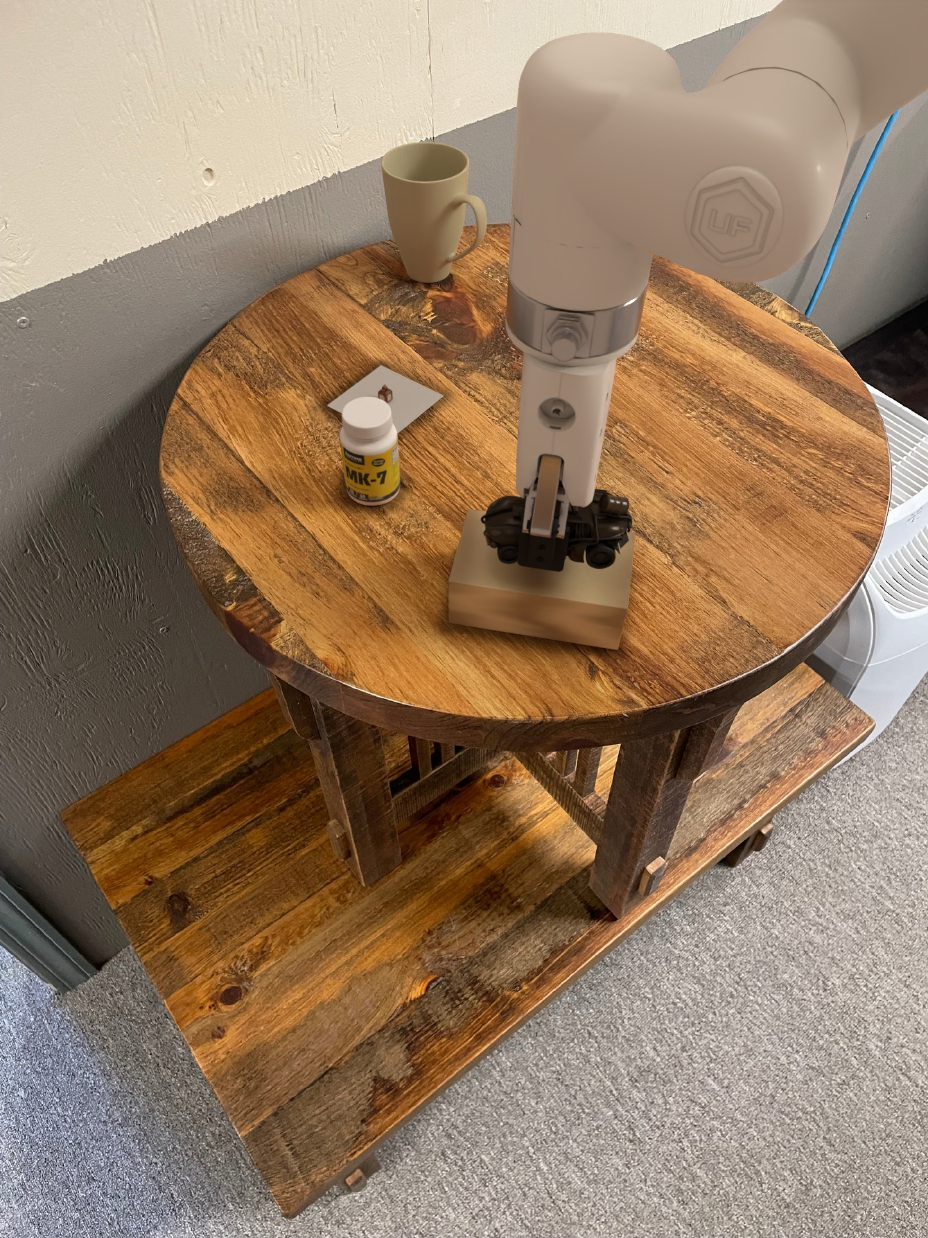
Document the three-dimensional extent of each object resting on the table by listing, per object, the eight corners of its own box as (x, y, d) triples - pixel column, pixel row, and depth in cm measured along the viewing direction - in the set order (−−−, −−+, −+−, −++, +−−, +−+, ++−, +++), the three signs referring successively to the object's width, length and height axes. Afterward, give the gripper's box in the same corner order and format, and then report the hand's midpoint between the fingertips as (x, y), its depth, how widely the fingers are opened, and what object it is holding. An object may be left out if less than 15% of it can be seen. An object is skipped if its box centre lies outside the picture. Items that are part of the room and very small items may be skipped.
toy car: (634, 569, 61) (645, 526, 57) (463, 572, 60) (464, 528, 57) (622, 507, 64) (631, 462, 61) (461, 509, 64) (461, 464, 61)
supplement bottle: (341, 504, 74) (329, 427, 68) (352, 467, 77) (342, 390, 71) (395, 510, 74) (389, 433, 67) (405, 472, 77) (400, 395, 70)
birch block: (625, 575, 70) (635, 532, 66) (617, 650, 65) (627, 609, 61) (467, 551, 71) (468, 508, 67) (448, 623, 66) (448, 581, 63)
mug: (384, 297, 94) (375, 185, 85) (392, 249, 100) (385, 140, 91) (484, 299, 94) (487, 188, 84) (486, 251, 100) (489, 142, 90)
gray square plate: (326, 405, 83) (324, 389, 81) (381, 365, 87) (379, 349, 85) (391, 439, 80) (389, 422, 78) (444, 395, 84) (443, 379, 82)
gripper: (630, 410, 42) (586, 632, 56) (652, 232, 52) (610, 457, 67) (478, 391, 43) (473, 614, 57) (530, 219, 53) (514, 444, 68)
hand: (547, 527), depth 62 cm, fingers closed on toy car, 6 cm apart
